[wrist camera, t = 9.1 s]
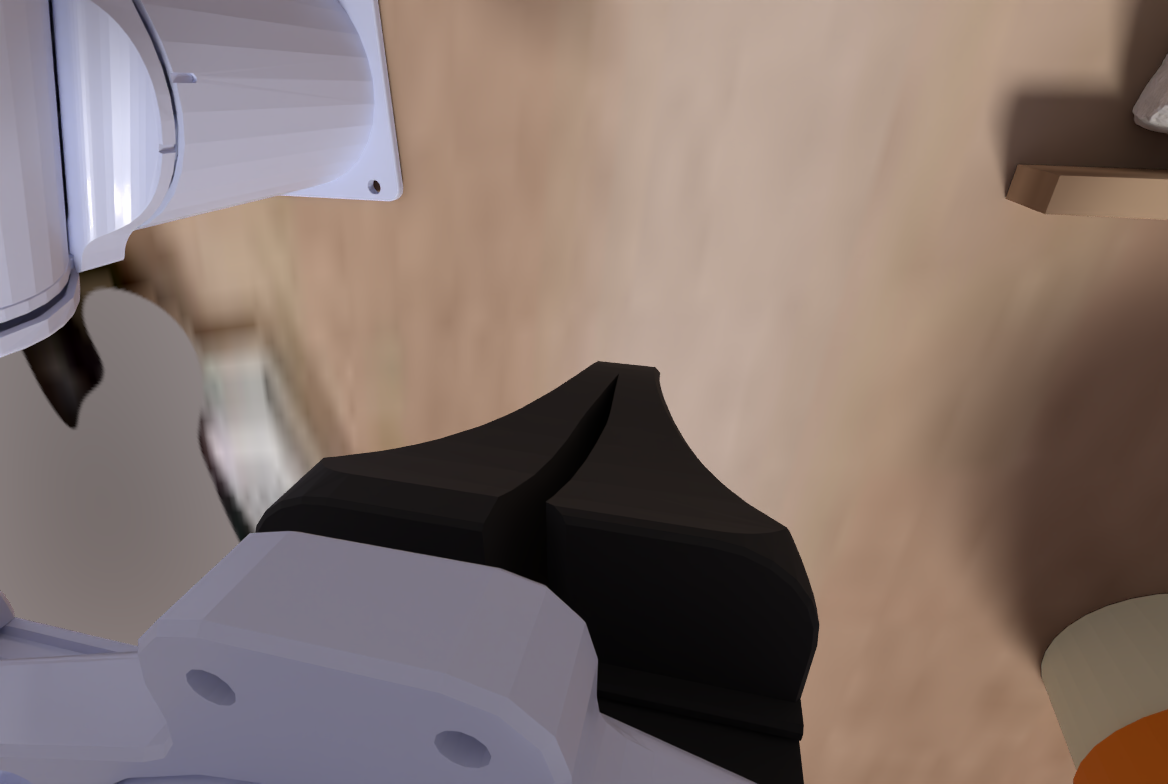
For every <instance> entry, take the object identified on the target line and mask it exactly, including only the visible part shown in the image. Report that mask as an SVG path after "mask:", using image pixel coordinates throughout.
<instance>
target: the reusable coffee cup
mask: <svg viewBox="0 0 1168 784" xmlns="http://www.w3.org/2000/svg"><path fill="white" fill-rule="evenodd" d="M1041 674H1042V680H1043V682H1044V685H1045V688H1046V690H1047V693H1048V695H1049V698H1050V701H1051V703H1052V706H1053V709H1054V711H1055V714H1056V717H1057V719H1058V722H1059V725H1060V727H1061V730H1062V733H1063V735H1064V738H1065V741H1066V743H1067V746H1068V749H1069V751H1070V754H1071V757H1072V759H1073V762H1074V765H1075V767H1076V770H1077V772H1076V774H1075V777H1074V779H1073V784H1168V594H1156V595H1151V596H1145V597H1139V598H1134V599H1129V600H1126V601H1122V602H1119V603H1116V604H1112V605H1109V606H1106V607H1103V608H1101V609H1099V610H1097V611H1094V612H1092V613H1090V614H1088V615H1085V616H1084V617H1082V618H1080V619H1079V620H1077V621H1076V622H1074V623H1072V624H1071V625H1069V626H1068V627H1067V628H1066V629H1064V630H1063V631H1062V632H1061V633H1060V634H1059V635H1058V636H1057V637H1056V638H1055V639H1054V640H1053V641H1052V643H1051V644H1050V646H1049V647H1048V649H1047V650H1046V652H1045V655H1044V658H1043V661H1042V664H1041Z"/></svg>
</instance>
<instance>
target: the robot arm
mask: <svg viewBox="0 0 1168 784" xmlns="http://www.w3.org/2000/svg"><path fill="white" fill-rule="evenodd" d="M374 180H376V181H377V182H378V183H379V184H380V187H381V190H380V192H377V191H376V190H375V188H374V186H373V183H374ZM402 193H403V183H402V175H401V168H400V160H399V153H398V146H397V138H396V131H395V123H394V116H393V108H392V101H391V94H390V86H389V79H388V71H387V64H386V56H385V49H384V42H383V34H382V27H381V19H380V12H379V5H378V0H0V357H3V356H6V355H9V354H11V353H14V352H17V351H20V350H22V349H25V348H27V347H29V346H31V345H33V344H35V343H37V342H39V341H41V340H43V339H45V338H47V337H49V336H50V335H52V334H53V333H54V332H56V331H57V330H59V329H60V328H61V327H63V326H64V325H65V324H66V323H67V321H68V320H69V319H70V318H71V317H72V316H73V315H74V312H75V310H76V308H77V306H78V303H79V300H80V282H79V274H78V273H79V272H82V271H86V270H89V269H93V268H96V267H100V266H103V265H107V264H110V263H114V262H117V261H121V260H123V259H124V255H125V245H126V242H127V240H128V238H129V236H130V234H131V233H132V232H133V231H134V230H138V229H142V228H146V227H150V226H154V225H158V224H163V223H167V222H171V221H175V220H179V219H183V218H187V217H191V216H195V215H200V214H204V213H208V212H212V211H216V210H220V209H224V208H228V207H232V206H237V205H241V204H245V203H249V202H253V201H257V200H261V199H265V198H270V197H274V196H278V195H283V196H302V197H320V198H338V199H356V200H375V201H393V200H396V199H398V198H399V197H401V195H402ZM659 379H660V372H659V371H658V370H657V369H656V368H655V367H648V366H639V365H629V364H620V363H610V362H601V361H598V362H596V363H594V364H592V365H591V366H589V367H588V368H586V369H585V370H583V371H582V372H580V373H579V374H577V375H576V376H574V377H573V378H571V379H570V380H568V381H567V382H565V383H564V384H562V385H561V386H559V387H558V388H556V389H554V390H553V391H551V392H550V393H548V394H546V395H544V396H542V397H541V398H539V399H537V400H535V401H533V402H532V403H530V404H528V405H526V406H525V407H523V408H521V409H519V410H517V411H515V412H513V413H510V414H508V415H506V416H504V417H501V418H499V419H497V420H494V421H492V422H489V423H487V424H484V425H482V426H479V427H476V428H473V429H470V430H466V431H463V432H460V433H457V434H454V435H451V436H447V437H444V438H441V439H437V440H433V441H429V442H425V443H420V444H416V445H411V446H406V447H401V448H396V449H390V450H384V451H378V452H370V453H362V454H354V455H346V456H338V457H327V458H323V459H322V460H321V461H320V462H319V463H317V464H316V465H315V466H314V467H313V468H312V469H311V470H310V471H309V472H308V473H307V474H305V475H304V476H303V477H302V478H301V479H300V480H299V481H298V482H297V483H296V484H295V485H293V486H292V487H291V488H290V489H289V490H288V491H287V492H286V493H285V494H284V495H283V496H282V497H280V498H279V499H278V500H277V501H276V502H275V503H274V504H273V505H272V506H271V507H270V508H268V509H267V510H266V511H265V513H264V515H263V516H262V518H261V519H260V521H259V523H258V524H257V526H256V533H250V534H249V535H248V536H247V537H245V538H244V539H243V540H242V541H241V542H240V543H239V544H238V545H237V546H236V547H235V548H234V549H233V550H232V551H231V552H229V553H228V554H227V555H226V556H225V557H224V558H223V559H222V560H221V561H220V562H219V563H218V564H217V565H215V567H213V568H212V569H211V570H210V571H209V572H208V573H207V574H206V575H205V576H204V577H203V578H202V579H201V580H200V581H198V582H197V583H196V584H195V585H194V586H193V587H192V588H191V589H190V590H189V591H188V592H187V593H186V594H185V595H183V597H181V598H180V599H179V600H178V601H177V602H176V603H175V604H174V605H173V606H172V607H171V608H169V610H167V611H166V612H165V613H164V614H163V615H162V616H161V617H160V618H159V619H158V620H157V621H156V622H155V623H154V624H153V625H152V626H151V627H150V628H149V629H148V630H147V631H146V632H145V633H144V634H143V635H142V636H141V637H140V638H139V639H138V646H135V645H131V644H127V643H122V642H119V641H114V640H110V639H106V638H102V637H97V636H93V635H89V634H85V633H81V632H76V631H72V630H67V629H63V628H59V627H55V626H51V625H47V624H42V623H38V622H34V621H30V620H25V619H21V618H17V617H14V610H13V608H12V606H11V604H10V602H9V601H8V599H7V598H6V596H5V595H4V594H3V592H1V590H0V784H804V780H803V772H802V763H801V754H800V745H799V740H800V741H801V739H802V736H803V727H804V724H803V716H802V708H801V700H800V698H801V695H802V692H803V689H804V686H805V682H806V679H807V676H808V673H809V670H810V666H811V663H812V660H813V657H814V654H815V651H816V647H817V642H818V632H819V620H818V614H817V607H816V603H815V599H814V595H813V592H812V588H811V585H810V582H809V579H808V576H807V573H806V571H805V568H804V565H803V562H802V559H801V557H800V555H799V552H798V550H797V547H796V545H795V543H794V540H793V538H792V536H791V534H790V532H789V530H788V529H787V527H785V526H783V525H782V524H780V523H778V522H777V521H775V520H774V519H772V518H770V517H769V516H767V515H765V514H764V513H762V512H760V511H759V510H757V509H756V508H754V507H752V506H751V505H749V504H748V503H746V502H745V501H744V500H742V499H741V498H740V497H738V496H737V495H736V494H735V493H733V492H732V491H731V490H729V489H728V488H727V487H726V486H725V485H723V484H722V483H721V482H720V481H719V480H718V479H717V478H716V477H715V476H714V475H713V474H712V473H711V472H710V471H709V470H708V469H707V468H706V467H705V466H704V465H703V464H702V463H701V462H700V460H699V459H698V458H697V457H696V455H695V454H694V453H693V451H692V450H691V449H690V447H689V446H688V444H687V443H686V441H685V440H684V438H683V437H682V435H681V433H680V432H679V430H678V428H677V426H676V424H675V423H674V421H673V418H672V416H671V414H670V412H669V410H668V407H667V405H666V402H665V400H664V397H663V394H662V390H661V387H660V382H659Z"/></svg>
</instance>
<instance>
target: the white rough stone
mask: <svg viewBox="0 0 1168 784" xmlns="http://www.w3.org/2000/svg"><path fill="white" fill-rule="evenodd" d="M1132 112H1133V114H1134V115H1135V116H1134V122H1135V123H1136V124H1137V125H1139V126H1141V127H1143V128H1145V129H1148V130H1151V131H1156V132H1161V133H1168V54H1167V55H1166V57H1165V59H1164V60H1163V62H1162V65H1161V66H1160V68H1159V69H1158V70H1157V72H1156V73H1155V74H1154V75H1153V77H1152V78H1151V79H1150V81H1149V82H1148V84H1147V85H1146V87H1145V89H1144V90H1143V92H1142V93H1141V95H1140V97H1139V99H1138V100H1137V102H1136V104H1135V105H1134V107H1133V110H1132Z"/></svg>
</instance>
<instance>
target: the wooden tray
mask: <svg viewBox="0 0 1168 784" xmlns="http://www.w3.org/2000/svg"><path fill="white" fill-rule="evenodd" d="M1006 199H1008V200H1010V201H1013V202H1016V203H1018V204H1021V205H1023V206H1026V207H1028V208H1031V209H1033V210H1036V211H1039V212H1041V213H1044V214H1055V215H1076V216H1097V217H1117V218H1138V219H1159V220H1168V170H1164V169H1135V168H1106V167H1077V166H1047V165H1017V168H1016V171H1015V174H1014V176H1013V179H1012V182H1011V185H1010V188H1009V191H1008V193H1007V196H1006Z"/></svg>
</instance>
